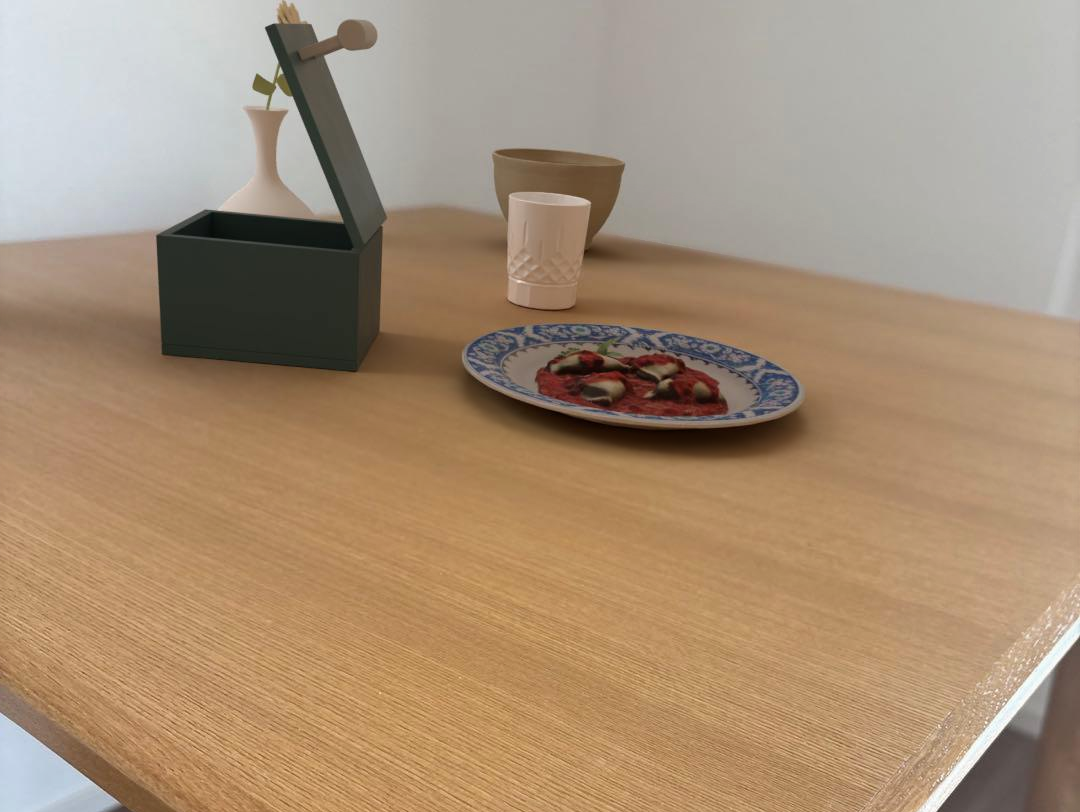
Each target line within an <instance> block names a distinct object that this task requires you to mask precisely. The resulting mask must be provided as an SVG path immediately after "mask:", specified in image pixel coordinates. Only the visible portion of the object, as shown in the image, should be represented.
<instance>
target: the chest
mask: <svg viewBox="0 0 1080 812" xmlns="http://www.w3.org/2000/svg"><path fill="white" fill-rule="evenodd" d="M383 235H384V227H383V225H381V226H380V227H379V228H378V230H377V231H376V232H375V233H374V234H373V235H372V237H371V238H370V239H369V240H368V241H367V242H366V244H365V245H364V246H361V247H358V248H354V246H353V244H352V241H351V239H350V236H349V234H348V231H347V229H346V226H345V224H344V222H343V221H335V220H323V219H316V220H314V219H303V218H293V217H282V216H271V215H260V214H250V213H239V212H228V211H218V209H216V210H215V209H208V208H207V209H206V208H205V209H203V210H202V211H199V212H198V213H196V214H194V215H192V216H190V217H187V218H186V219H184V220H182V221H181V222H180V221H179V223H177V224H174V225H173V226H171V227H169V228H167V229H165V230H163V231H161V232H159V233H157V234H156V236H155V243H156V260H157V261H156V263H157V281H158V283H157V284H158V303H159V321H160V341H161V344H160V345H161V354H162V355H166V356H167V355H168V356H178V357H190V358H201V359H211V360H223V361H232V362H233V361H234V362H243V363H257V364H269V365H279V366H291V367H300V368H301V367H302V368H311V369H312V368H313V369H325V370H336V371H344V372H345V371H347V372H358V369H359V368H360V367H361V364H362V363H363V361H364V359H365V357H366V356H367V354H368V352H369V350H370V348H371V346H372V345H373V343H374V341H375V339H377V337H378V334H379V333H380V330H381V327H380V326H381V301H382V300H381V299H382V272H383V271H382V269H383V268H382V267H383V237H384V236H383Z"/></svg>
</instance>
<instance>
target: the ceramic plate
mask: <svg viewBox="0 0 1080 812" xmlns="http://www.w3.org/2000/svg"><path fill="white" fill-rule="evenodd" d="M461 360H462V364H463V366H464V369H466V370H467V372H468V373H469V374H470V375H471V376H472V377H474V378H475V379H476V380H478V381H479V382H481V383H482V384H483V385H485V386H487V387H488V388H490V389H492V390H495V391H496V392H499V393H500V394H503V395H505V396H508V397H510V398H511V399H515V400H518V401H521V402H523V403H526V404H530V405H533V406H536V407H538V408H542V409H545V410H550V411H554V412H557V413H560V414H563V415H565V416H569V417H570V418H571V417H572V418H575V419H580V420H584V421H589V422H592V423H593V422H594V423H597V424H601V425H602V424H603V425H607V426H613V427H621V428H631V429H639V430H640V429H641V430H650V431H655V430H656V431H657V430H659V431H660V430H662V431H663V430H664V431H665V430H666V431H669V430H671V431H672V430H675V431H677V430H691V429H692V430H693V429H716V428H717V429H718V428H732V427H733V428H734V427H743V426H750V425H756V424H759V423H764V422H768V421H772V420H777V419H780V418H782V417H785V416H787V415H789V414H791V413H792V412H794V411H796V410H797V409H798V408H799V407H801V406H802V404H803V403H804V401H805V398H806V394H807V393H806V388H805V386H804V384H803V383H802V381H801V380H800V379H799V378H798V377H797V376H796V375H795V374H794V373H792V371H790V370H788V368H786V367H784V366H782V365H781V364H779V363H776V362H774V361H772V360H771V359H769V358H767V357H764V356H762V355H759V354H757V353H754V352H751V351H748V350H746V349H743V348H740V347H737V346H733V345H731V344H728V343H724V342H720V341H716V340H712V339H707V338H702V337H698V336H693V335H689V334H685V333H679V332H674V331H666V330H660V329H655V328H654V329H653V328H647V327H639V326H630V325H621V324H607V323H606V324H604V323H539V324H528V325H522V326H513V327H506V328H503V329H502V328H501V329H497V330H494V331H491V332H489V333H486V334H482V335H480V336H477V337H476V338H474V339H473V340H471V341H470V342H468V343H467V344H466V345H465V346H464V348H463V350H462V352H461Z"/></svg>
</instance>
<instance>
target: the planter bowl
mask: <svg viewBox="0 0 1080 812" xmlns="http://www.w3.org/2000/svg"><path fill="white" fill-rule="evenodd" d="M491 153H492V154H491V155H492V163H493V183H494V191H495V194H496V198H497V202H498V205H499V208H500V210H501V212H502V215H503V217H504V219H505V221H506V223H507V224H508V213H509V195H510V194H511V193H516V192H543V193H554V194H562V195H569V196H574V197H579V198H583V199H586V200H588V201H590V202H591V207H590V214H589V221H588V228H587V235H586V242H585V248H584V251H587V250H590V248H591V246H592V241H593V239H594V237H595V236H596V235H597V234H598V232H600V230H601V229H602V228H603V227H604V225H605V224H606V222H607V220H608V219H609V217H610V215H611V214H612V211H613V209H614V207H615V205H616V202H617V199H618V197H619V193H620V189H621V184H622V176H623V175H624V174H623V173H624V171H625V168H626V161H625V160H624V159H620V158H617V157H613V156H608V155H603V154H596V153H591V152H581V151H574V150H564V149H563V150H562V149H549V148H536V147H535V148H533V147H532V148H530V147H529V148H528V147H512V148H511V147H510V148H509V147H508V148H500V149H495V150H493V151H492V152H491Z"/></svg>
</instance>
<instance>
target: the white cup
mask: <svg viewBox="0 0 1080 812" xmlns="http://www.w3.org/2000/svg"><path fill="white" fill-rule="evenodd" d="M590 207H591V202H590V201H588V200H586V199H583V198H579V197H574V196H569V195H562V194H554V193H543V192H516V193H511V194H510V195H509V213H508V223H507V241H506V242H507V252H506V253H507V255H506V257H507V260H506V261H507V262H506V263H507V264H506V271H507V274H508V275H507V294H506V295H507V299H508V301H509V302H510V303H512V304H514V305H516V306H520V307H524V308H529V309H535V310H543V311H544V310H548V311H549V310H550V311H553V310H554V311H555V310H558V311H559V310H567V309H570V308H572V307H574V306H575V305H576V300H577V293H578V284H579V282H578V281H579V278H580V276H581V272H582V265H583V260H584V255H585V250H584V248H585V242H586V235H587V228H588V221H589V214H590Z"/></svg>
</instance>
